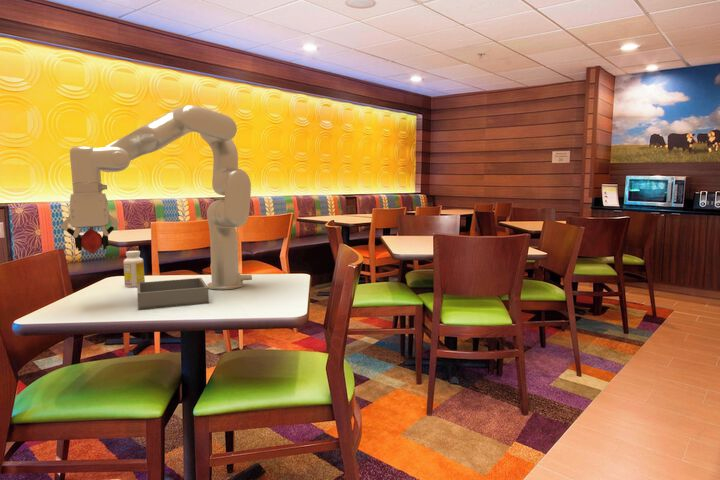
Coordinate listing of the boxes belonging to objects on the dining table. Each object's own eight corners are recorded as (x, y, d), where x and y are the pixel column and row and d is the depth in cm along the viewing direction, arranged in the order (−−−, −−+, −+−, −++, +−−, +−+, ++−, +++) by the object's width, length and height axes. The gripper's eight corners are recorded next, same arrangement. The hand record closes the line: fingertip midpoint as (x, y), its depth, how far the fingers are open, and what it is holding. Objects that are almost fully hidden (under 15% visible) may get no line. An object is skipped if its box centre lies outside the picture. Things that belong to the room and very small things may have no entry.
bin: (201, 292, 167) (201, 277, 166) (208, 303, 150) (208, 287, 150) (138, 297, 158) (137, 282, 158) (138, 310, 142) (137, 293, 142)
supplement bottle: (145, 283, 182) (144, 249, 181) (143, 287, 176) (142, 252, 174) (126, 284, 180) (124, 250, 179) (123, 288, 174) (121, 252, 172)
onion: (94, 255, 141) (91, 228, 140) (77, 255, 142) (74, 228, 141) (108, 252, 147) (106, 226, 146) (91, 252, 148) (89, 226, 147)
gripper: (120, 188, 149) (124, 246, 152) (55, 189, 142) (60, 250, 144) (119, 188, 143) (124, 249, 145) (51, 189, 135) (57, 253, 138)
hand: (92, 249), depth 145 cm, fingers closed on onion, 5 cm apart
